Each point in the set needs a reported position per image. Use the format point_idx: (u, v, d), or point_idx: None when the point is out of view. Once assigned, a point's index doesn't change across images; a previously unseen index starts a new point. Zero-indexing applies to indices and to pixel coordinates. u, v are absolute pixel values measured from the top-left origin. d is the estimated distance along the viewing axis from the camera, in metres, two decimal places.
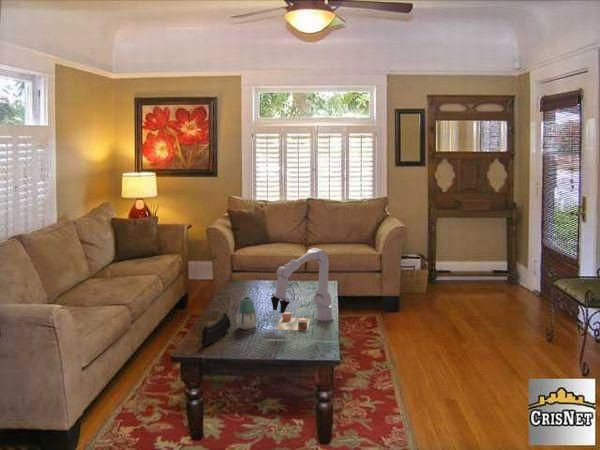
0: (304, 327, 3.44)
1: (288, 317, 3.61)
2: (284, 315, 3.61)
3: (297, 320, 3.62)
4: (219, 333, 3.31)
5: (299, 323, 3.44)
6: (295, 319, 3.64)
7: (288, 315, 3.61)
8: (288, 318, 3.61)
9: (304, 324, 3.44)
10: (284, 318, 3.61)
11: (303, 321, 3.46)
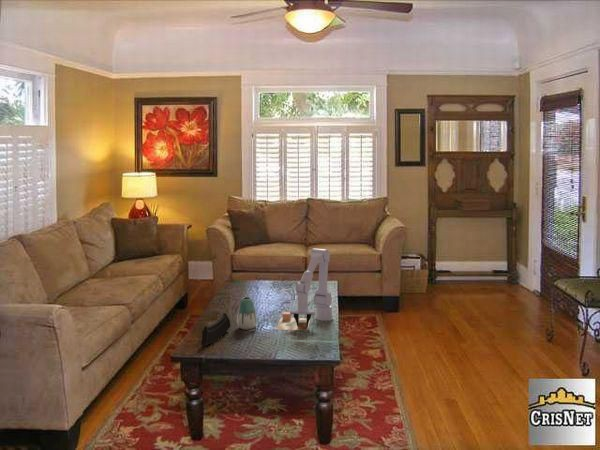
0: (304, 327, 3.44)
1: (288, 317, 3.61)
2: (284, 315, 3.61)
3: None
4: (219, 333, 3.31)
5: (299, 323, 3.44)
6: None
7: (288, 315, 3.61)
8: (288, 318, 3.61)
9: (304, 324, 3.44)
10: (284, 318, 3.61)
11: (303, 321, 3.46)
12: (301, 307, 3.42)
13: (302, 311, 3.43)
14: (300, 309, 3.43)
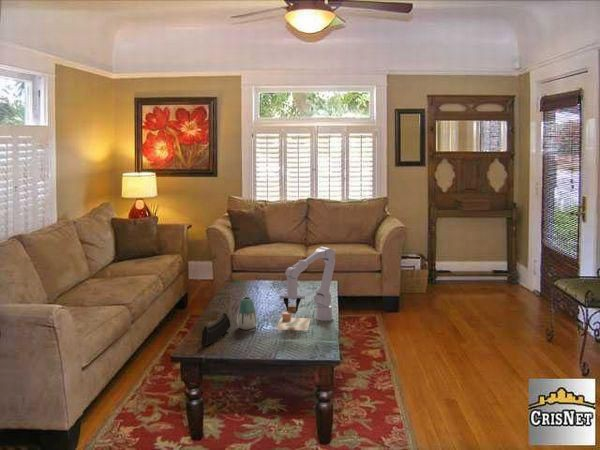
0: (294, 311, 3.50)
1: (288, 317, 3.61)
2: (284, 315, 3.61)
3: (297, 320, 3.62)
4: (219, 333, 3.31)
5: (289, 307, 3.50)
6: (295, 319, 3.64)
7: (288, 315, 3.61)
8: (288, 318, 3.61)
9: (294, 308, 3.50)
10: (284, 318, 3.61)
11: (293, 305, 3.52)
12: (291, 291, 3.49)
13: (292, 295, 3.49)
14: (290, 293, 3.49)
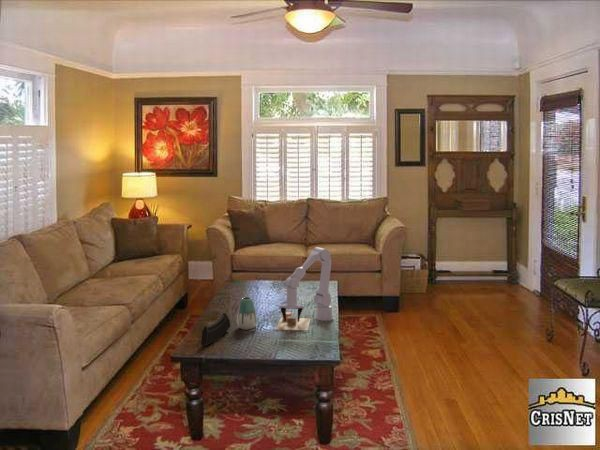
0: (293, 323, 3.52)
1: None
2: None
3: (297, 320, 3.62)
4: (219, 333, 3.31)
5: (288, 319, 3.52)
6: None
7: (288, 315, 3.61)
8: None
9: (293, 320, 3.51)
10: None
11: (292, 317, 3.53)
12: (290, 301, 3.50)
13: (291, 305, 3.50)
14: (289, 303, 3.50)
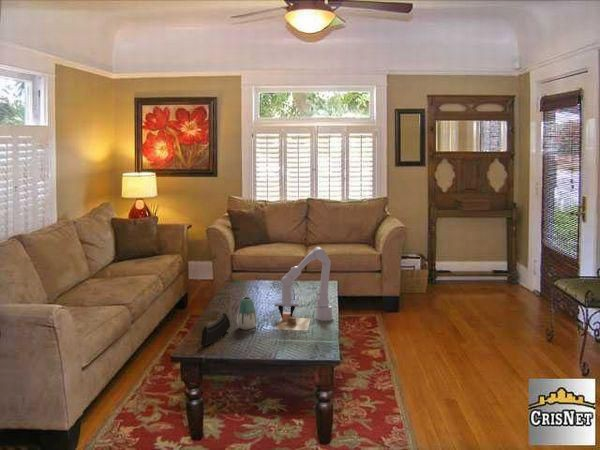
0: (293, 323, 3.52)
1: None
2: (284, 315, 3.61)
3: (297, 320, 3.62)
4: (218, 333, 3.31)
5: (288, 319, 3.52)
6: None
7: (288, 315, 3.61)
8: None
9: (293, 320, 3.51)
10: (284, 318, 3.61)
11: (292, 317, 3.53)
12: (285, 299, 3.59)
13: (286, 303, 3.59)
14: (284, 301, 3.60)
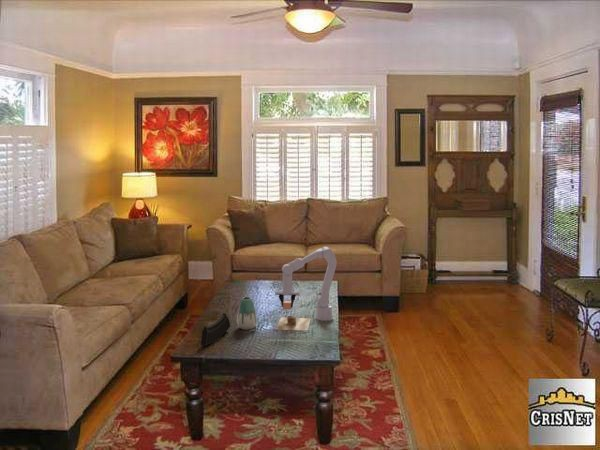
0: (293, 323, 3.52)
1: (288, 306, 3.59)
2: (285, 304, 3.59)
3: (297, 320, 3.62)
4: (218, 333, 3.31)
5: (288, 319, 3.52)
6: None
7: (289, 304, 3.59)
8: (289, 307, 3.59)
9: (293, 320, 3.51)
10: (285, 307, 3.59)
11: (292, 317, 3.53)
12: (286, 288, 3.57)
13: (287, 292, 3.57)
14: (285, 290, 3.58)
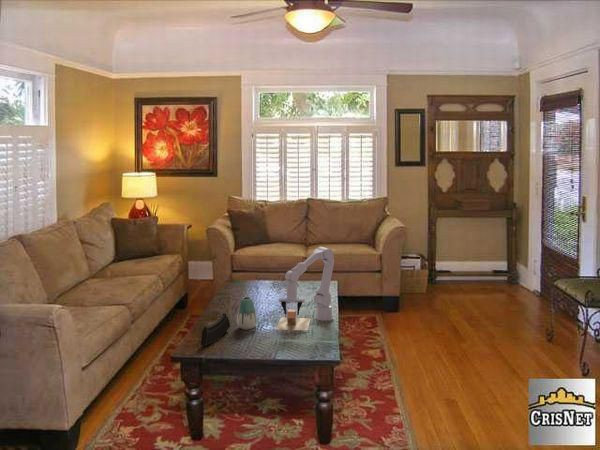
0: (293, 323, 3.52)
1: (293, 315, 3.51)
2: (289, 313, 3.51)
3: (297, 320, 3.62)
4: (218, 333, 3.31)
5: (288, 319, 3.52)
6: None
7: (293, 313, 3.51)
8: (293, 316, 3.51)
9: (293, 320, 3.51)
10: (289, 316, 3.52)
11: None
12: (290, 295, 3.49)
13: (291, 299, 3.50)
14: (289, 297, 3.50)
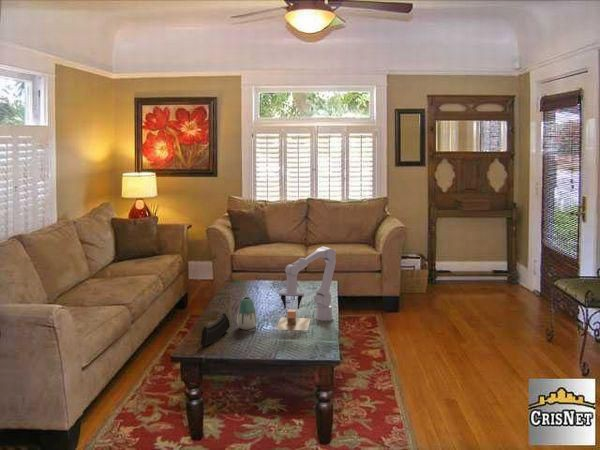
0: (293, 323, 3.52)
1: (293, 315, 3.51)
2: (289, 313, 3.51)
3: (297, 320, 3.62)
4: (218, 333, 3.30)
5: (288, 319, 3.52)
6: None
7: (293, 313, 3.51)
8: (293, 316, 3.51)
9: (293, 320, 3.51)
10: (289, 316, 3.52)
11: None
12: (290, 289, 3.49)
13: (291, 293, 3.49)
14: (289, 291, 3.49)
